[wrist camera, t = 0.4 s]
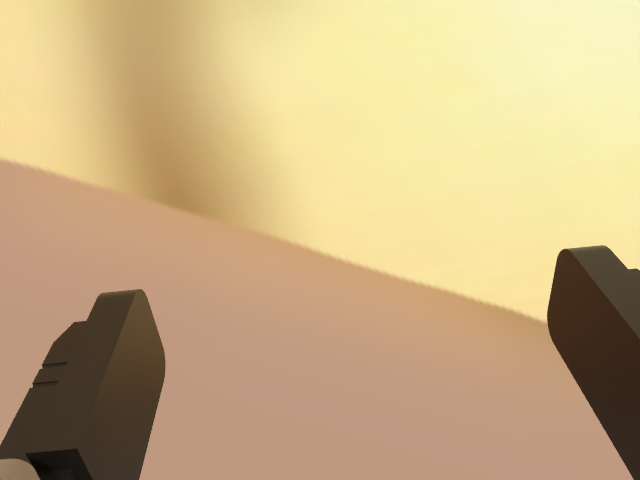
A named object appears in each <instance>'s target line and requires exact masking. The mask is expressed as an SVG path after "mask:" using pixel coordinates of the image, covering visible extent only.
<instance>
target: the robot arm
mask: <svg viewBox="0 0 640 480" xmlns="http://www.w3.org/2000/svg"><path fill="white" fill-rule="evenodd" d="M547 321H548V328H549V332H550V336H551V338H552V341H553V343H554V345H555V346H556V348H557V350H558V352H559V353H560V355H561V357H562V358H563V360H564V362H565V363H566V365H567V367H568V368H569V370H570V372H571V374H572V375H573V377H574V379H575V380H576V382H577V384H578V385H579V387H580V389H581V391H582V392H583V394H584V395H585V397H586V399H587V401H588V402H589V404H590V406H591V407H592V409H593V411H594V413H595V414H596V416H597V418H598V419H599V421H600V423H601V424H602V426H603V428H604V430H605V431H606V433H607V435H608V436H609V438H610V440H611V441H612V443H613V445H614V447H615V448H616V450H617V452H618V453H619V455H620V457H621V458H622V460H623V462H624V463H625V465H626V467H627V469H628V470H629V472H630V474H631V475H632V477H633V479H634V480H640V270H638V269H627V268H626V266H625V265H624V264H623V263H622V262H621V261H620V260H619V259H618V258H617V256H616V255H615V254H614V253H613V252H612V251H611V250H610V249H609V248H608V247H606V246H603V245H602V246H591V247H581V248H571V249H563V250H562V251H561V252H560V253H559V255H558V258H557V262H556V267H555V273H554V278H553V284H552V289H551V295H550V300H549V306H548V312H547ZM42 366H43V367H42V369H40V370H39V372H38V374H37V376H36V377H35V379H34V382H33V388H30V389H29V391H28V393H27V395H26V397H25V399H24V401H23V403H22V405H21V407H20V409H19V410H18V412H17V414H16V417H15V418H14V420H13V422H12V424H11V426H10V428H9V430H8V432H7V434H6V436H5V438H4V440H3V441H2V443H1V445H0V480H139V478H140V474H141V470H142V466H143V462H144V457H145V454H146V450H147V446H148V442H149V438H150V434H151V430H152V425H153V422H154V418H155V414H156V410H157V406H158V402H159V398H160V394H161V390H162V386H163V382H164V377H165V356H164V349H163V346H162V342H161V339H160V336H159V333H158V330H157V327H156V324H155V321H154V318H153V314H152V311H151V308H150V305H149V302H148V299H147V296H146V295H145V293H144V291H143V290H141V289H138V290H130V291H129V290H128V291H118V292H108V293H101V294H100V295H99V296H98V298H97V300H96V302H95V304H94V306H93V309H92V311H91V312H90V315H89V317H88V319H87V321H81V322H74V323H73V324H72V325H71V326H70V327H69V328H68V329H67V330H66V331H65V332H64V333H63V334H62V335H61V336H60V337H59V338H58V339H57V340H56V341H55V342H54V343H53V345H52V347H51V348H50V350H49V353H48V354H47V356H46V358H45V360H44V362H43V364H42Z"/></svg>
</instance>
